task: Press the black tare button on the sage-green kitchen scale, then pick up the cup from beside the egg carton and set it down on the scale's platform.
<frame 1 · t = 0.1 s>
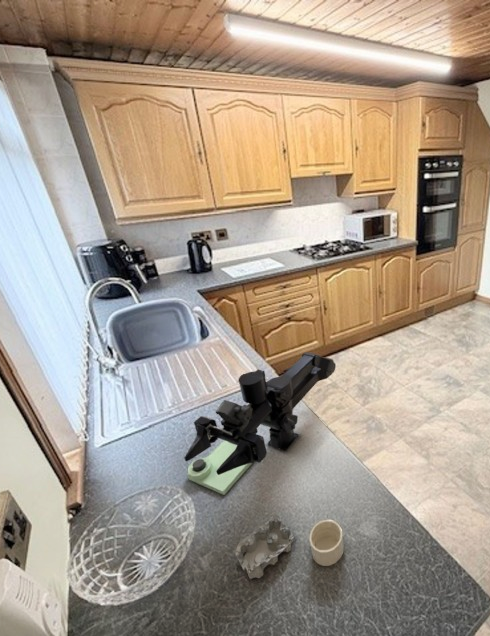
hand: (200, 466, 73), 17 cm above the worktop, tool horizontal, fingers open, 9 cm apart
tare button: (199, 465, 90), point 3 cm above the worktop, slide at 0.1 cm
scale: (227, 464, 94), on the worktop
egg carton: (266, 552, 73), on the worktop
cup: (327, 550, 72), on the worktop
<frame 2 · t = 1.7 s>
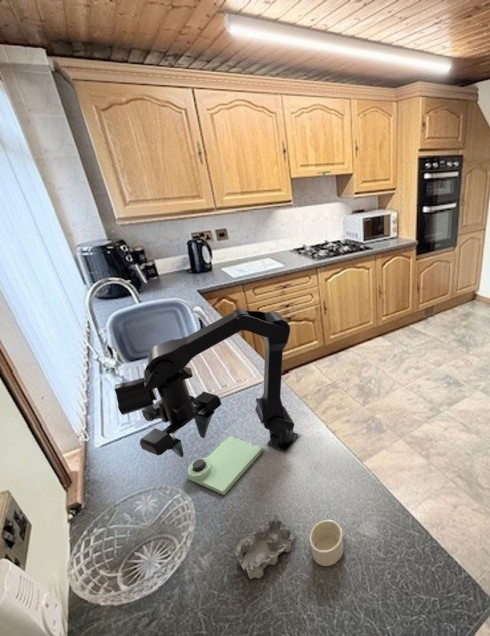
hand: (192, 446, 87), 10 cm above the worktop, tool pointing down, fingers open, 6 cm apart
nothing on the worktop moved.
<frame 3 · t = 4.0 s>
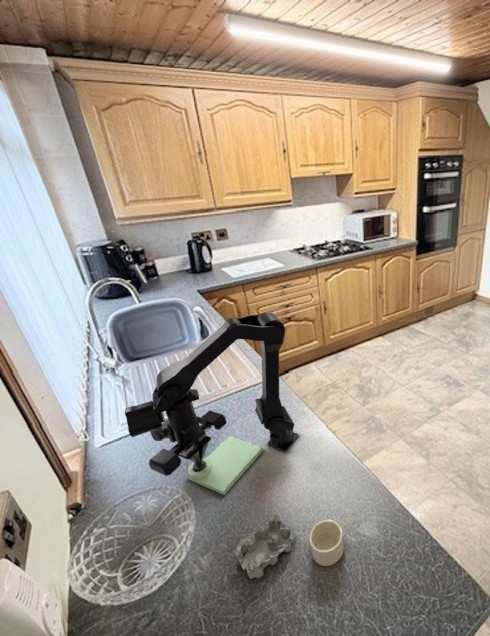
hand: (198, 464, 89), 4 cm above the worktop, tool pointing down, fingers closed, pressing on tare button
tare button: (199, 466, 90), point 3 cm above the worktop, slide at -0.3 cm, touching gripper
everything else where it was.
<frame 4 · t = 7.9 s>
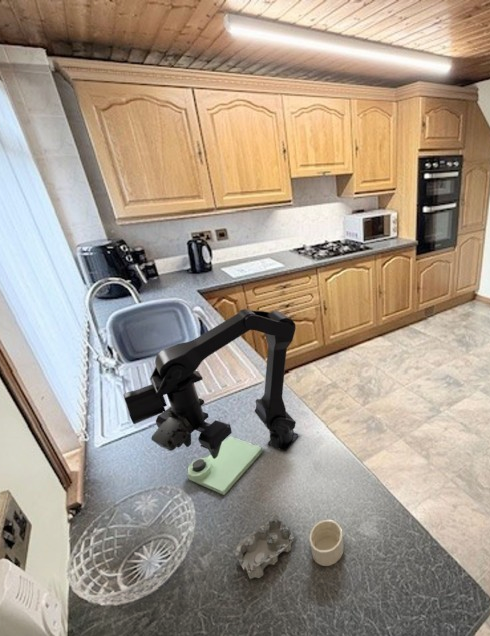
hand: (202, 451, 85), 10 cm above the worktop, tool pointing down, fingers open, 9 cm apart
tare button: (199, 465, 90), point 3 cm above the worktop, slide at 0.1 cm
everything else where it was.
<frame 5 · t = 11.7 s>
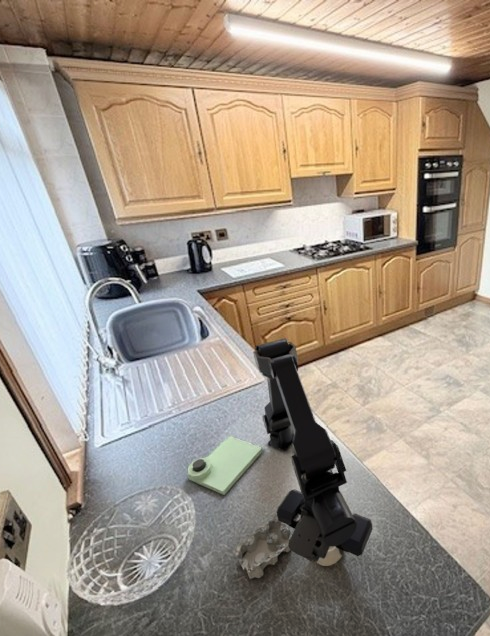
hand: (327, 545, 72), 2 cm above the worktop, tool pointing down, fingers closed on cup, 7 cm apart
cup: (327, 550, 72), on the worktop, touching gripper
everything else where it was.
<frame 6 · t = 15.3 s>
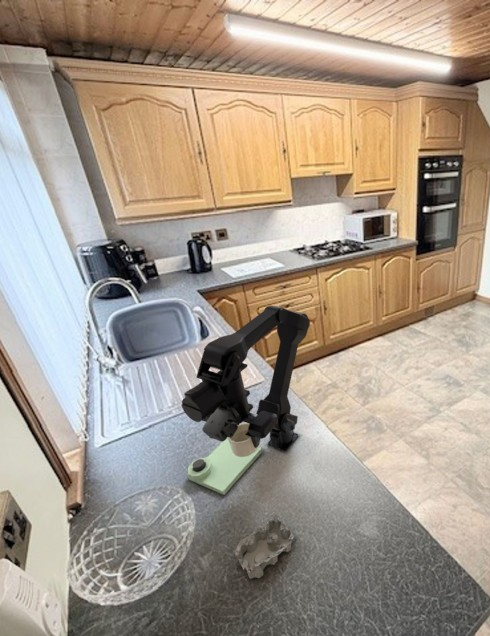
hand: (245, 443, 86), 11 cm above the worktop, tool pointing down, fingers closed on cup, 7 cm apart
cup: (246, 447, 86), point 10 cm above the worktop, touching gripper
everything else where it was.
when the fingers open (3 cm above the worktop, at t = 18.9 s): cup stays where it is, resting on scale.
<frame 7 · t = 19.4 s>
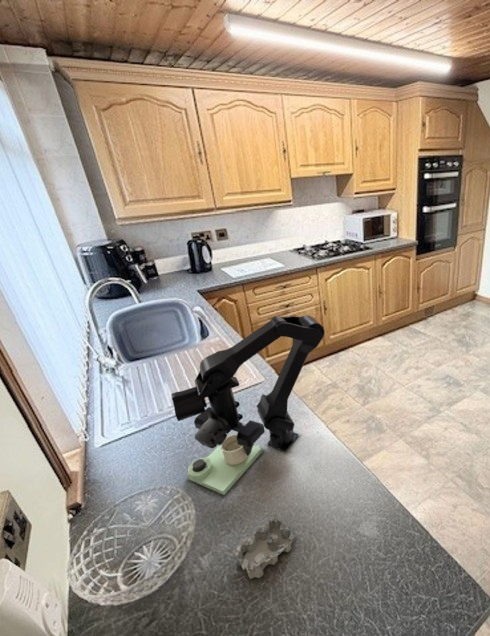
hand: (235, 449, 93), 4 cm above the worktop, tool pointing down, fingers open, 9 cm apart
cup: (237, 456, 94), point 1 cm above the worktop, touching scale
everything else where it was.
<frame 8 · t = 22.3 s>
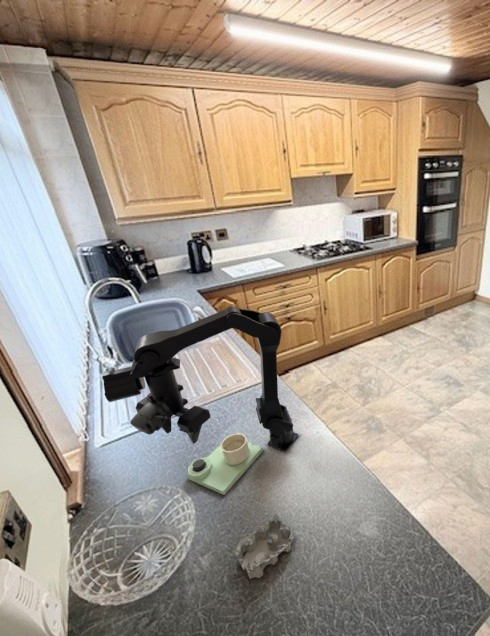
hand: (181, 437, 87), 12 cm above the worktop, tool pointing down, fingers open, 9 cm apart
nothing on the worktop moved.
at the end: tare button pushed in 0.9 cm at the most during the clip, back to where it started at the end; cup inside the target area on the scale (2.9 cm from its centre), point 1.4 cm above the scale's base; cup touching scale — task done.
